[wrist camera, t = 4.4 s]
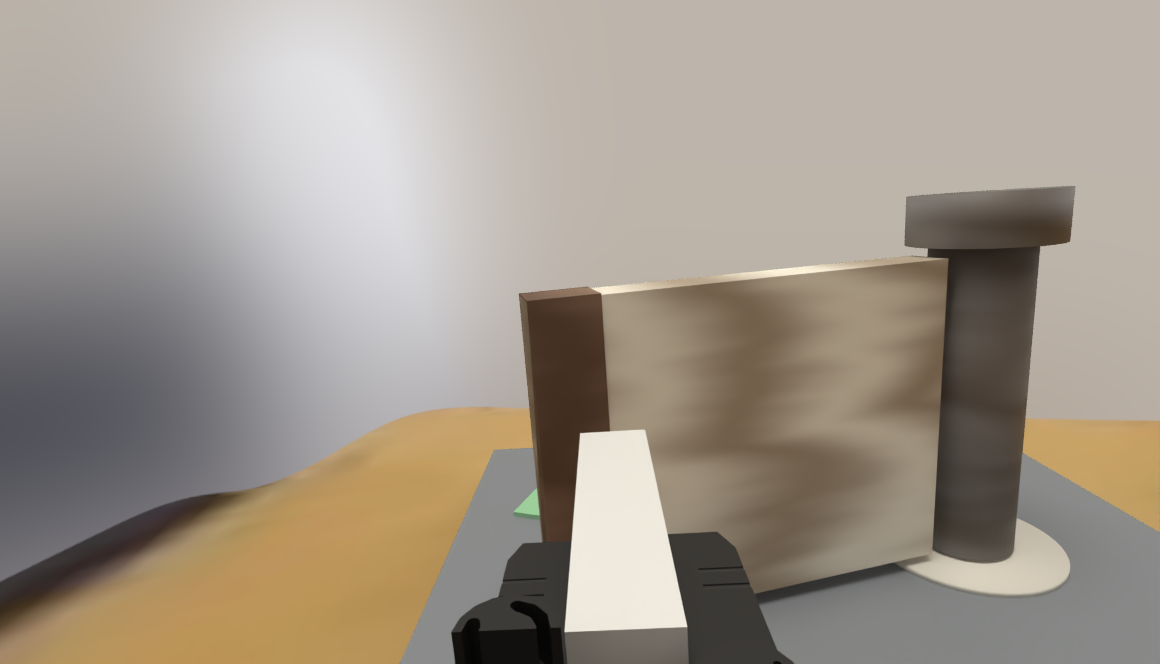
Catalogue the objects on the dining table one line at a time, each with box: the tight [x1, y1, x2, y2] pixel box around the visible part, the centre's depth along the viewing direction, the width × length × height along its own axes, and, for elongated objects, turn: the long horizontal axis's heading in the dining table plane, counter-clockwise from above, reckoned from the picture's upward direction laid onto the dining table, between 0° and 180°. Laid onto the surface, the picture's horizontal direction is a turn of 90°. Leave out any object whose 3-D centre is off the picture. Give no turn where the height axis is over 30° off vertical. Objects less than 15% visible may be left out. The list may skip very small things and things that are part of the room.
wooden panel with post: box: [519, 186, 1075, 594], centre depth 19 cm, size 17×4×12 cm, turn 103°
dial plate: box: [400, 448, 1160, 664], centre depth 22 cm, size 26×21×2 cm
